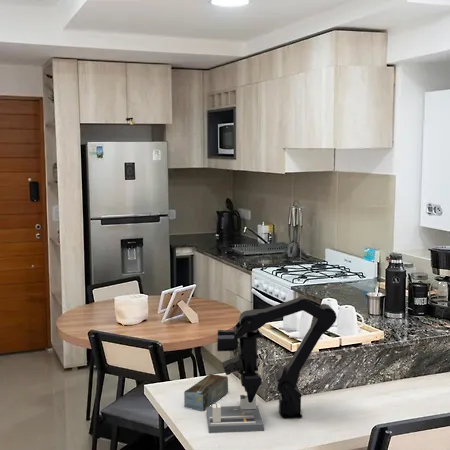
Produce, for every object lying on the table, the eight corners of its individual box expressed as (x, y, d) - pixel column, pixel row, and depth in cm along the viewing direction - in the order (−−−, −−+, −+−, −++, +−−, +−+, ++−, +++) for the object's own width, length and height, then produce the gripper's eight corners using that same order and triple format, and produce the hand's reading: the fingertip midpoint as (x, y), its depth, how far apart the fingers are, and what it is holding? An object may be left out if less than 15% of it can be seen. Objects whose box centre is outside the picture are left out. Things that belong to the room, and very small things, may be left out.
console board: (257, 410, 209) (257, 403, 208) (263, 430, 194) (263, 422, 193) (206, 412, 207) (206, 405, 207) (209, 432, 192) (209, 424, 192)
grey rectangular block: (255, 406, 206) (255, 394, 206) (256, 409, 204) (256, 397, 204) (240, 407, 206) (240, 395, 205) (240, 410, 204) (240, 397, 203)
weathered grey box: (182, 408, 212) (182, 389, 211) (209, 389, 229) (209, 372, 228) (203, 412, 208) (203, 393, 208) (229, 393, 225) (229, 375, 225)
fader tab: (220, 418, 197) (219, 403, 196) (220, 422, 194) (220, 407, 193) (212, 418, 197) (212, 403, 196) (213, 422, 194) (212, 407, 193)
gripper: (221, 342, 211) (221, 387, 213) (226, 360, 193) (226, 409, 195) (254, 341, 212) (254, 386, 214) (261, 359, 194) (261, 407, 196)
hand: (248, 396), depth 205 cm, fingers open, 9 cm apart
